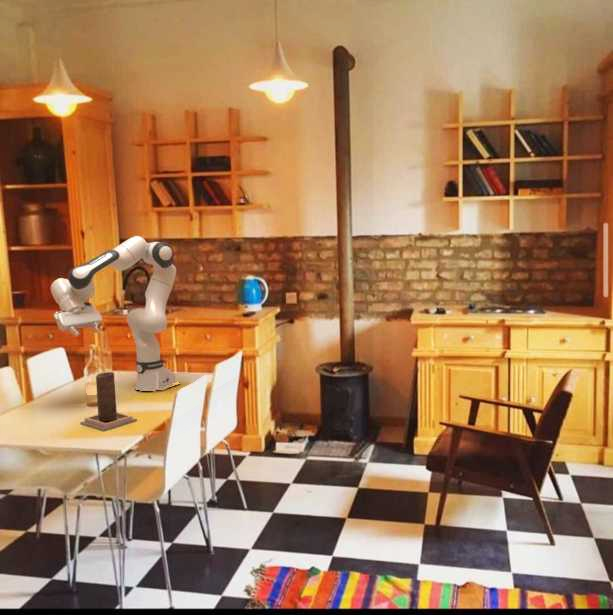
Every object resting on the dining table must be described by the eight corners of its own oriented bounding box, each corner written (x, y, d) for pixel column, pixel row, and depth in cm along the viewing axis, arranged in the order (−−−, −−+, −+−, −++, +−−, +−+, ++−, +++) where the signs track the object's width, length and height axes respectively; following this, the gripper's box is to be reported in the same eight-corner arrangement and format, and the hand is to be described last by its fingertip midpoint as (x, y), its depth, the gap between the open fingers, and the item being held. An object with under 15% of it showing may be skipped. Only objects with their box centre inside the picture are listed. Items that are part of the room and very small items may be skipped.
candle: (113, 423, 279) (110, 375, 276) (95, 423, 279) (92, 375, 276) (119, 417, 286) (116, 370, 284) (102, 417, 287) (99, 371, 284)
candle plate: (113, 414, 294) (112, 409, 294) (136, 421, 284) (136, 415, 284) (80, 424, 282) (80, 418, 281) (104, 431, 272) (103, 425, 271)
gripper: (54, 308, 295) (68, 332, 290) (95, 302, 311) (109, 325, 306) (49, 317, 298) (63, 341, 294) (89, 311, 314) (104, 334, 309)
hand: (87, 333), depth 300 cm, fingers open, 8 cm apart
